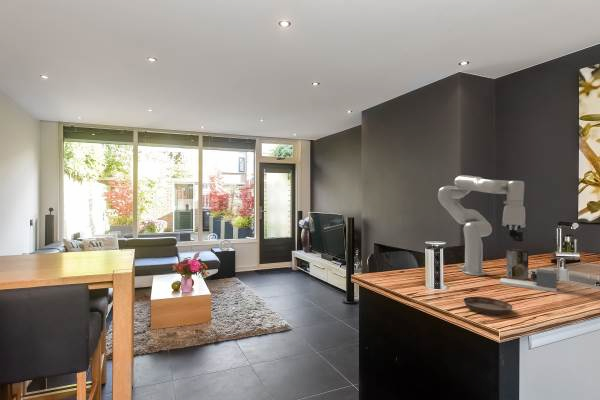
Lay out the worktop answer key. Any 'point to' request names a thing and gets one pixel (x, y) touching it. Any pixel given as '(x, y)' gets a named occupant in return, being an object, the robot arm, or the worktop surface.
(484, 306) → the plant saucer
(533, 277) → the shaft
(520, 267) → the coffee box
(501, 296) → the worktop surface
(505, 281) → the base board
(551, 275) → the block
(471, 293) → the worktop surface
